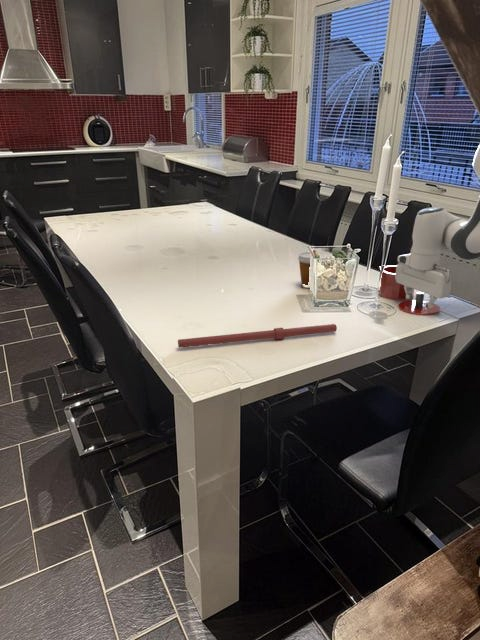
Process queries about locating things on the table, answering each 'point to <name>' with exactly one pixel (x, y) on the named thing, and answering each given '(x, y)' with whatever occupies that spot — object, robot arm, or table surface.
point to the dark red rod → (257, 335)
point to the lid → (418, 306)
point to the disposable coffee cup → (304, 267)
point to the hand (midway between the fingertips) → (419, 303)
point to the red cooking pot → (391, 285)
